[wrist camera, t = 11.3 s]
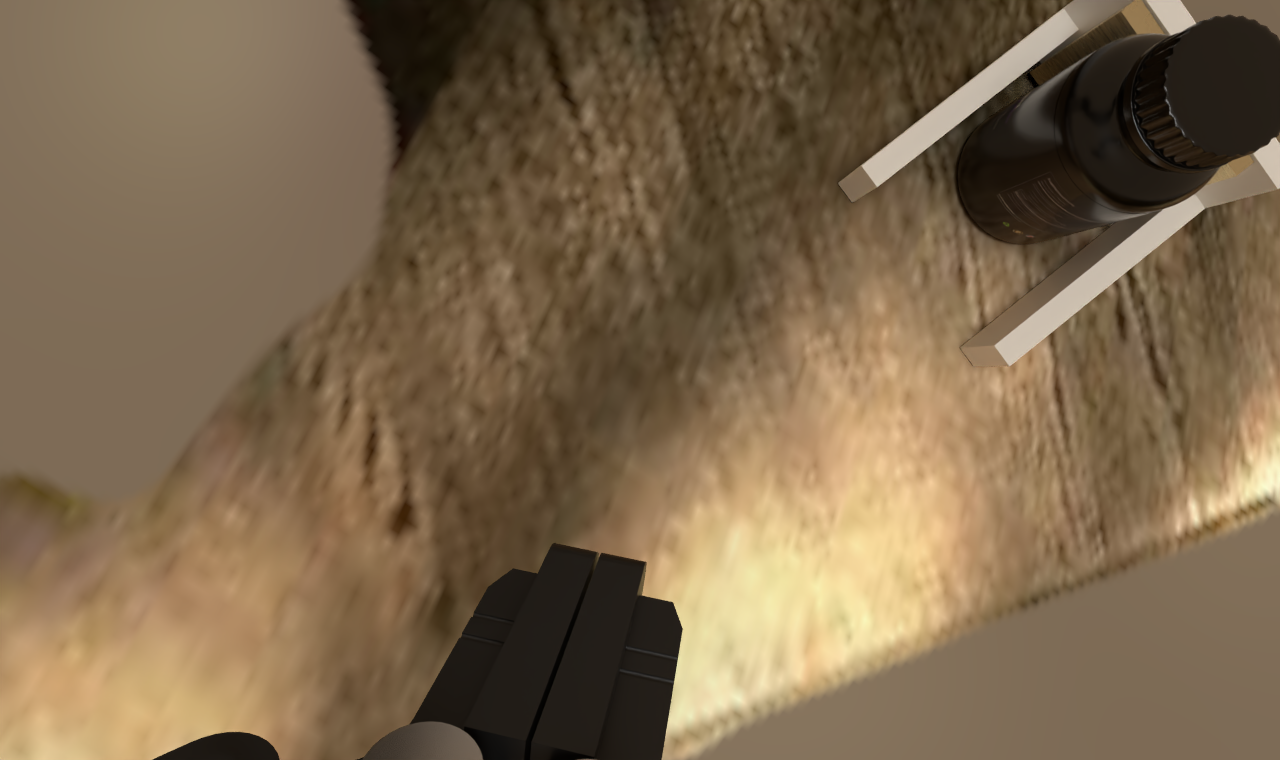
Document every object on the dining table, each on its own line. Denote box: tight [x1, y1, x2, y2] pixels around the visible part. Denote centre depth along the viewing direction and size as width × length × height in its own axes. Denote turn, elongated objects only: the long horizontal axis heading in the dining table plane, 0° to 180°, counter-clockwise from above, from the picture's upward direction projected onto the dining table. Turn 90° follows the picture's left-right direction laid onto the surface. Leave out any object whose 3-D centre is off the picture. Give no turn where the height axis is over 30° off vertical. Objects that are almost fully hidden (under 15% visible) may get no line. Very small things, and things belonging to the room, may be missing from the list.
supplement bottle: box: [958, 15, 1280, 244], centre depth 30 cm, size 7×7×12 cm
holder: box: [838, 0, 1280, 367], centre depth 32 cm, size 11×13×6 cm
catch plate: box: [1030, 0, 1254, 185], centre depth 32 cm, size 8×1×6 cm, turn 38°
